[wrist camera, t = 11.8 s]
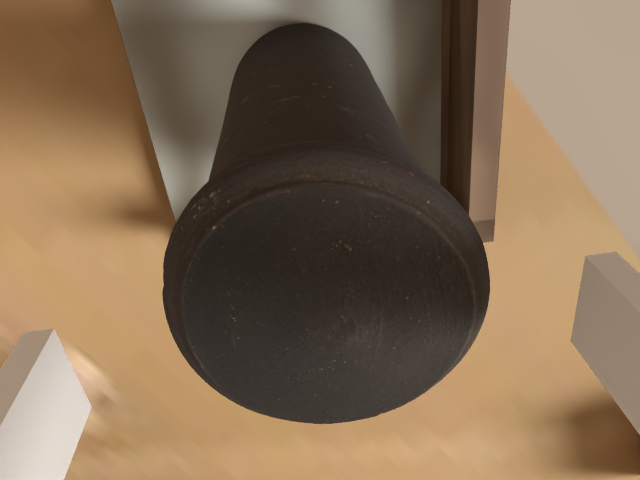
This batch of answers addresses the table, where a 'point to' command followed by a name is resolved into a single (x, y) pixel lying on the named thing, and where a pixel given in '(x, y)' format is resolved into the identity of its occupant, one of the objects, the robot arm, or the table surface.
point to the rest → (377, 51)
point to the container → (320, 246)
